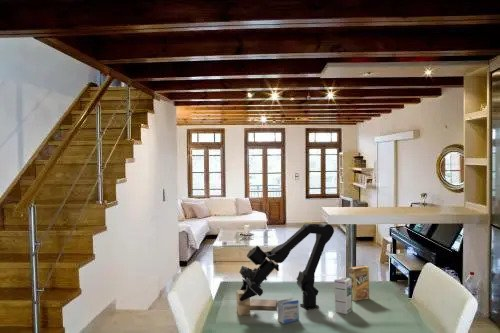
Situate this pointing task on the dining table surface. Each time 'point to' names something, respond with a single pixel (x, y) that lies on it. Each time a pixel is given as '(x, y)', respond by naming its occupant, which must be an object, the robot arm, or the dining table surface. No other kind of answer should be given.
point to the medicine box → (288, 310)
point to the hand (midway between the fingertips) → (239, 298)
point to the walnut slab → (263, 304)
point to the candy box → (359, 282)
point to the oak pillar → (242, 304)
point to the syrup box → (343, 295)
